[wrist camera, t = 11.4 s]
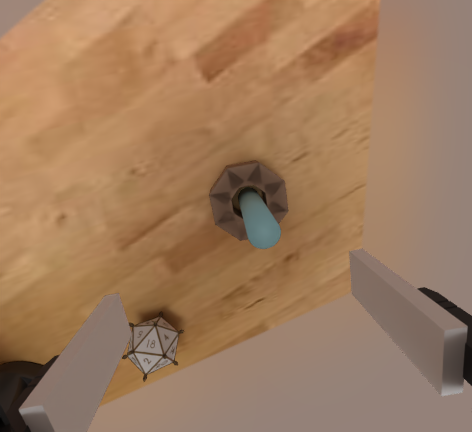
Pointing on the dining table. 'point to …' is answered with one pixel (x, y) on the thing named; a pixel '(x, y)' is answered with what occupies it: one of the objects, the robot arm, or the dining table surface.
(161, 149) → the dining table surface
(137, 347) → the game die
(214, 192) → the bead
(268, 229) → the teal rounded stick
